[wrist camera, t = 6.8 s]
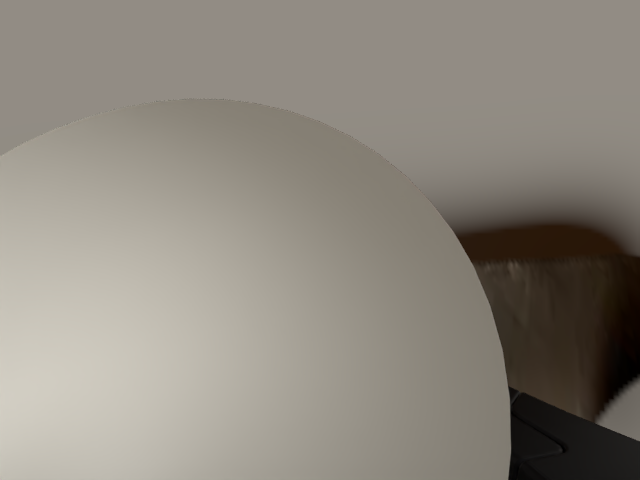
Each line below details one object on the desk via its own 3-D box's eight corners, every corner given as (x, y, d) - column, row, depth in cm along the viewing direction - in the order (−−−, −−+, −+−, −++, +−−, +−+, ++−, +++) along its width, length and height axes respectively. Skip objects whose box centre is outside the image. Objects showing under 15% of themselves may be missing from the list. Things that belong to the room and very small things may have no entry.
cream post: (379, 491, 14) (683, 686, 2) (242, 538, 13) (-415, 1165, 1) (337, 356, 16) (367, 54, 4) (216, 392, 15) (-159, 170, 3)
